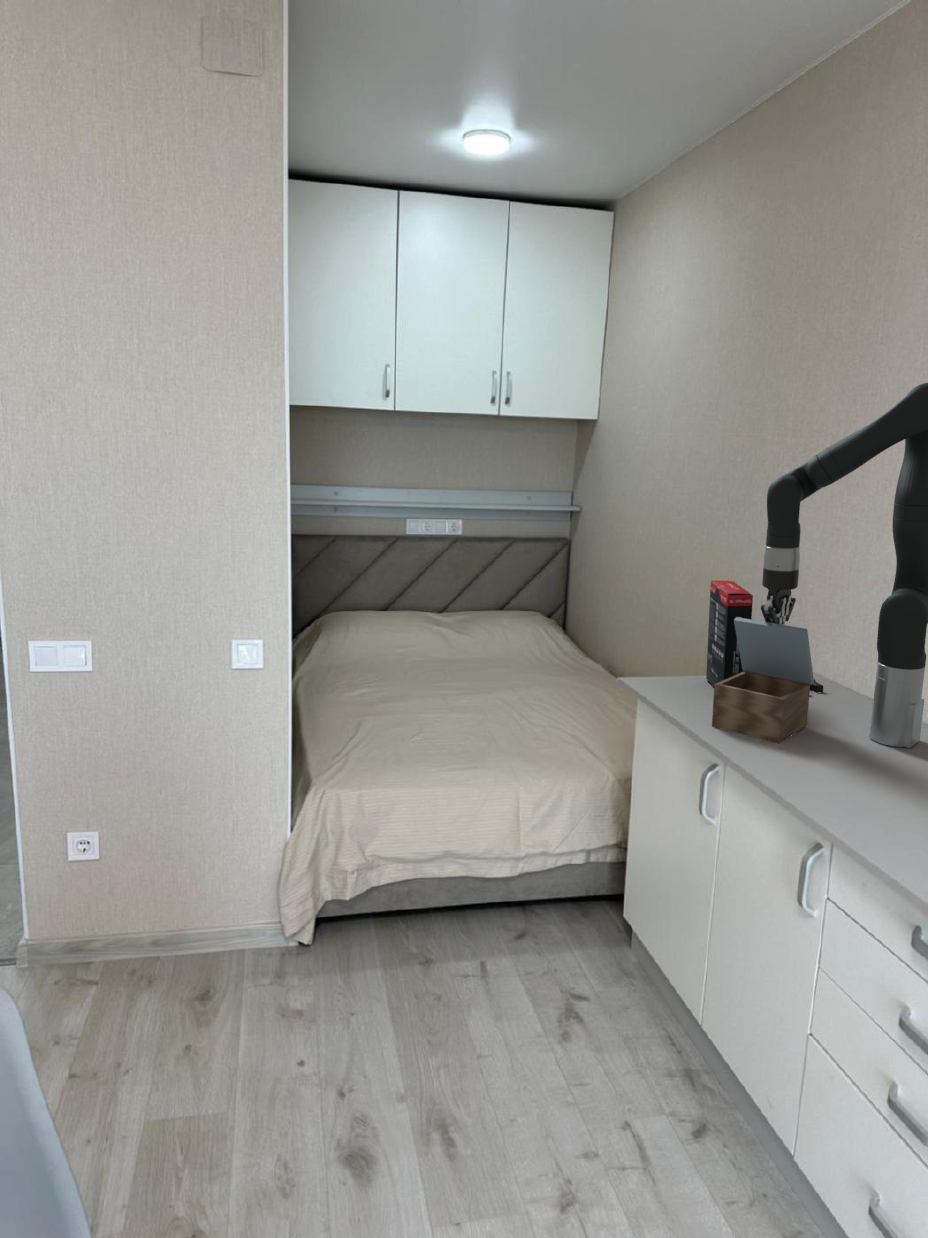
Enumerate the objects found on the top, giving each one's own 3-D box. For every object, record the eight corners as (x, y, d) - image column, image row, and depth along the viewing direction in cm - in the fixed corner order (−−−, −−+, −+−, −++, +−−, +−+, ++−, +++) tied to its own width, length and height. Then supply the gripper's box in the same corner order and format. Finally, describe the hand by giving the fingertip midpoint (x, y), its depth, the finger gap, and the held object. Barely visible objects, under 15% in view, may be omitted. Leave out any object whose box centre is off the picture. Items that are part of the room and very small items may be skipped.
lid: (811, 686, 201) (814, 683, 201) (804, 632, 193) (807, 628, 194) (742, 672, 212) (745, 668, 212) (733, 620, 204) (736, 617, 205)
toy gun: (768, 685, 235) (769, 667, 234) (815, 686, 234) (816, 668, 233) (777, 696, 226) (779, 678, 225) (826, 698, 225) (828, 679, 224)
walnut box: (806, 727, 203) (810, 685, 201) (779, 743, 193) (782, 699, 191) (740, 711, 214) (743, 671, 211) (711, 726, 204) (714, 684, 202)
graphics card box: (748, 700, 222) (756, 592, 216) (720, 700, 222) (727, 592, 216) (729, 680, 239) (735, 579, 232) (703, 680, 239) (708, 579, 232)
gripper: (784, 572, 192) (778, 650, 196) (810, 564, 201) (804, 638, 205) (751, 568, 197) (746, 644, 201) (778, 560, 206) (773, 633, 210)
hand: (776, 641), depth 203 cm, fingers closed
